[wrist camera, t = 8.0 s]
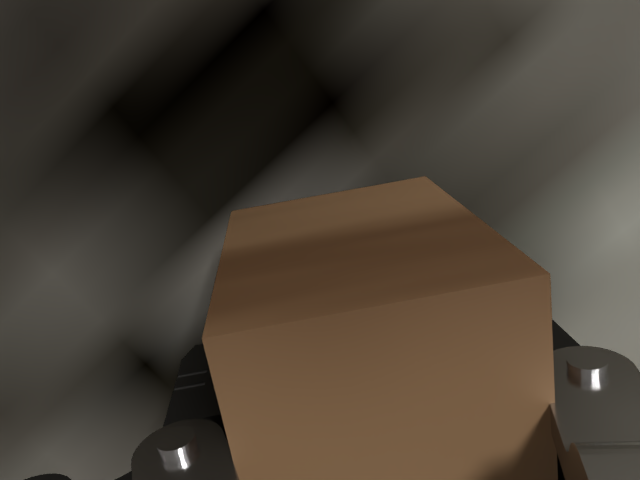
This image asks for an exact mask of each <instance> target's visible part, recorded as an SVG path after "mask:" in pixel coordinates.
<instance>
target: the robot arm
mask: <svg viewBox="0 0 640 480" xmlns="http://www.w3.org/2000/svg"><path fill="white" fill-rule="evenodd" d="M552 335H553V361H554V388H555V403H550V417H551V435H552V438H553V441H554V445H555V448H556V451H557V469H558V480H640V372H639V370H638V369H637V367H636V366H635V365H634V363H633V362H632V361H630V360H629V359H628V358H626V357H625V356H623V355H621V354H619V353H616V352H614V351H611V350H608V349H603V348H598V347H591V346H580V345H579V344H578V343H577V342H576V341H575V340H574V339H573V338H572V337H570V336H569V335H568V334H567V333H566V332H565V331H564V330H563V329H562V328H561V327H560V326H559V325H558V324H557V323H556V322H554V321H553V320H552ZM131 470H132V471H130V472H129V473H127V474H125V475H123V476H122V477H120V478H118V479H115V480H239V477H238V474H237V471H236V468H235V465H234V463H233V459H232V455H231V451H230V448H229V444H228V440H227V436H226V432H225V428H224V424H223V420H222V416H221V412H220V408H219V404H218V400H217V396H216V393H215V389H214V385H213V381H212V377H211V373H210V369H209V365H208V361H207V357H206V353H205V349H204V345H203V344H199V345H195V346H194V347H193V348H192V350H191V351H190V352H189V353H188V354H187V355H186V356H185V357H184V358H183V359H182V361H181V364H180V368H179V372H178V378H177V379H176V382H175V386H174V391H173V393H172V397H171V400H170V404H169V408H168V411H167V415H166V418H165V422H164V426H163V427H162V428H160V429H158V430H157V431H155V432H153V433H152V434H150V435H149V436H148V437H147V438H145V439H144V440H143V441H142V442H141V443H140V444H139V446H138V447H137V448H136V450H135V452H134V453H133V456H132V459H131ZM25 480H71V479H70V478H68V477H67V476H64V475H61V474H43V475H38V476H34V477H30V478H28V479H25Z"/></svg>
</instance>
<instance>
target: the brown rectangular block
mask: <svg viewBox="0 0 640 480" xmlns="http://www.w3.org/2000/svg"><path fill="white" fill-rule="evenodd" d="M202 341H203V345H204V349H205V353H206V357H207V361H208V365H209V369H210V373H211V377H212V381H213V385H214V389H215V393H216V396H217V400H218V404H219V408H220V412H221V416H222V420H223V424H224V428H225V432H226V436H227V440H228V444H229V448H230V451H231V455H232V459H233V463H234V465H235V468H236V471H237V474H238V477H239V480H558V469H557V451H556V448H555V445H554V441H553V438H552V435H551V417H550V403H555V388H554V361H553V335H552V308H551V281H550V273H548V272H547V271H546V270H545V269H543V268H542V267H541V266H539V265H538V264H537V263H536V262H534V261H533V260H532V259H530V258H529V257H528V256H527V255H525V254H524V253H523V252H522V251H520V250H519V249H518V248H516V247H515V246H514V245H513V244H511V243H510V242H509V241H507V240H506V239H505V238H504V237H502V236H501V235H500V234H499V233H497V232H496V231H495V230H493V229H492V228H491V227H490V226H488V225H487V224H486V223H484V222H483V221H482V220H481V219H479V218H478V217H477V216H475V215H474V214H473V213H472V212H470V211H469V210H468V209H467V208H465V207H464V206H463V205H461V204H460V203H459V202H458V201H456V200H455V199H454V198H452V197H451V196H450V195H449V194H447V193H446V192H445V191H444V190H442V189H441V188H440V187H438V186H437V185H436V184H435V183H433V182H432V181H431V180H429V179H428V178H427V177H426V176H424V177H419V178H413V179H408V180H402V181H396V182H391V183H385V184H380V185H374V186H369V187H363V188H357V189H352V190H346V191H341V192H335V193H329V194H324V195H318V196H313V197H307V198H302V199H296V200H290V201H285V202H279V203H274V204H268V205H263V206H257V207H251V208H246V209H240V210H235V211H231V215H230V219H229V223H228V228H227V232H226V236H225V240H224V245H223V249H222V253H221V258H220V262H219V266H218V271H217V275H216V279H215V284H214V288H213V292H212V297H211V301H210V305H209V310H208V314H207V318H206V323H205V327H204V331H203V336H202Z"/></svg>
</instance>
